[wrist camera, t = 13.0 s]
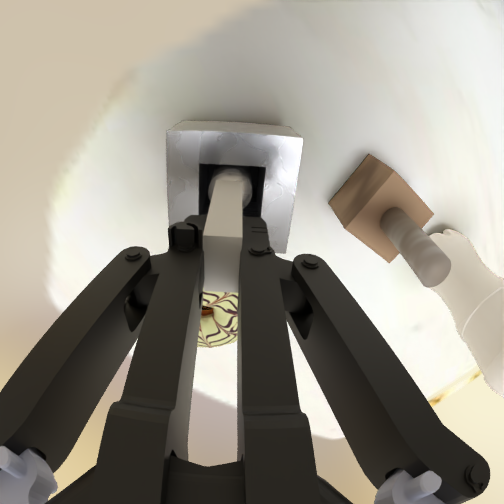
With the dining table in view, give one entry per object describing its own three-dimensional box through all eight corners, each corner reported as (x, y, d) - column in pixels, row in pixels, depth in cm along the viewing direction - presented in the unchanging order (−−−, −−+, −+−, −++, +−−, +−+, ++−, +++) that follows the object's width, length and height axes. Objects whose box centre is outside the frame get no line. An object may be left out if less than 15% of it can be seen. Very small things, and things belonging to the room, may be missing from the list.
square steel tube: (182, 215, 24) (170, 247, 20) (182, 120, 20) (166, 130, 15) (277, 221, 24) (285, 253, 20) (290, 126, 20) (303, 138, 16)
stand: (369, 153, 23) (448, 211, 13) (407, 191, 25) (481, 260, 15) (328, 203, 26) (378, 286, 16) (369, 235, 28) (424, 319, 18)
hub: (222, 117, 21) (215, 128, 16) (283, 156, 23) (296, 181, 18) (184, 175, 24) (167, 206, 19) (242, 210, 26) (243, 248, 20)
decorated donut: (274, 289, 31) (278, 314, 28) (216, 339, 36) (214, 363, 32) (194, 237, 28) (188, 259, 24) (144, 300, 32) (136, 323, 29)
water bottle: (421, 220, 27) (564, 420, 6) (465, 223, 27) (594, 385, 6) (404, 275, 31) (501, 467, 10) (447, 272, 31) (544, 434, 10)
